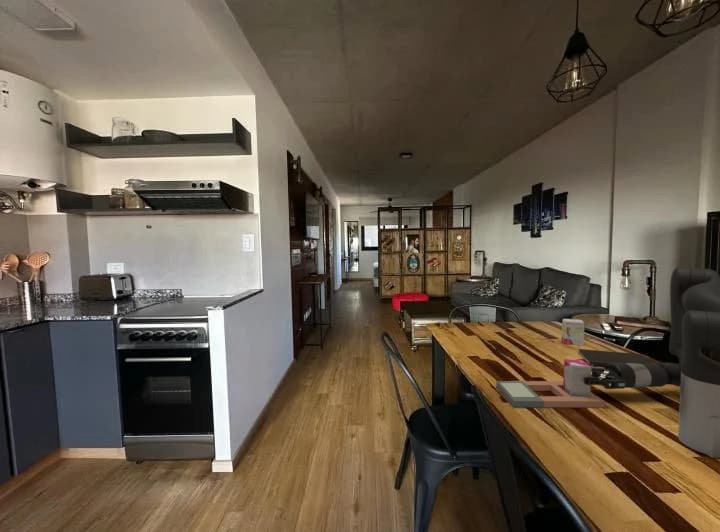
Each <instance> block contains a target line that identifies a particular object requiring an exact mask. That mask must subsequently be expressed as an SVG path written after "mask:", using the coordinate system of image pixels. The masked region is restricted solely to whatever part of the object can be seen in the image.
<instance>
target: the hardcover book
mask: <svg viewBox="0 0 720 532" xmlns="http://www.w3.org/2000/svg"><path fill="white" fill-rule="evenodd" d="M578 354H579V355H580V357H582V358H583V359H584V360H585V361H586V363H587V364H596V367H600V366H602V367H603V368H605V367H606V366H607V365H608V364H610V363H635V364H656V363H655V362H653V361H652V360H650V359H649V358H648V357H646V356H645V355H643V353H633V352H631V353H630V352H618V351H608V350H607V351H606V350H598V349H597V350H595V349H583V348H582V349H581V348H578Z"/></svg>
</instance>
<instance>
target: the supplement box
mask: <svg viewBox="0 0 720 532" xmlns="http://www.w3.org/2000/svg"><path fill="white" fill-rule="evenodd" d="M563 362H564V363H563V381H564V382H563V390H564V391H565V392H566V393H568V394H569V395H570V396H591V386H592V385H586V384H584V378H585V377H591V375H592V372H591V366H590V365H588V363H587V362H585V361H584V360H582V359H566V358H565V359H564V360H563Z"/></svg>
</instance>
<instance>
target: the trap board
mask: <svg viewBox="0 0 720 532" xmlns="http://www.w3.org/2000/svg"><path fill="white" fill-rule="evenodd" d="M563 382H564V380H555V381H554V380H550V381H549V380H545V381H544V380H539V381H538V380H536V381H535V380H529V381H528V380H520V381H519V380H497V381H496V388H497V389H498V391H500V393H501V394H502V395H503V396H504V397H505V398H506V400H507V401H508V402H509V404H510V405H512V407H513V408H586V409H587V408H593V409H594V408H598V409H599V408H602V409H603V408H605V403H606V401H605V400H603V399H602V398H600V397H599V396H598V395H597V396H594V395H593V396H592V395H590V396H570V395H569V394H568V393H566V392H565V391H564V390H563ZM536 391H537V392H541V391H542V392H543V391H545V392H547V391H549V392H551V393H553V394H554V396H550V395H549V396H547V395H545V396H540V395H538V394H537V393H536Z"/></svg>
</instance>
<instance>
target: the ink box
mask: <svg viewBox="0 0 720 532" xmlns="http://www.w3.org/2000/svg"><path fill="white" fill-rule="evenodd" d="M561 322H562V323H561V343H563V345H568V346H569V345H570V346H583V347H584V345H585V322H584V321H583V319H574V318H573V319H572V318H563V319H562V321H561Z"/></svg>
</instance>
